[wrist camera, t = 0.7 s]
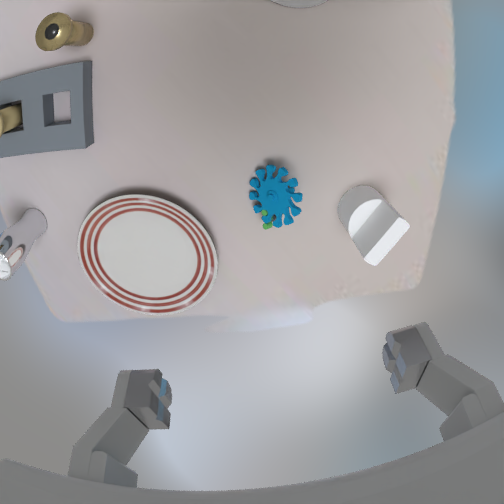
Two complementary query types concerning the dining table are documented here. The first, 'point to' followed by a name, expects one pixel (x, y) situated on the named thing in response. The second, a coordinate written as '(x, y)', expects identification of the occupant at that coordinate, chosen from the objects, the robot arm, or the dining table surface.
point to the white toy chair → (371, 222)
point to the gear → (275, 197)
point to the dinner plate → (147, 254)
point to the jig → (46, 111)
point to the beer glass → (19, 241)
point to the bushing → (62, 32)
